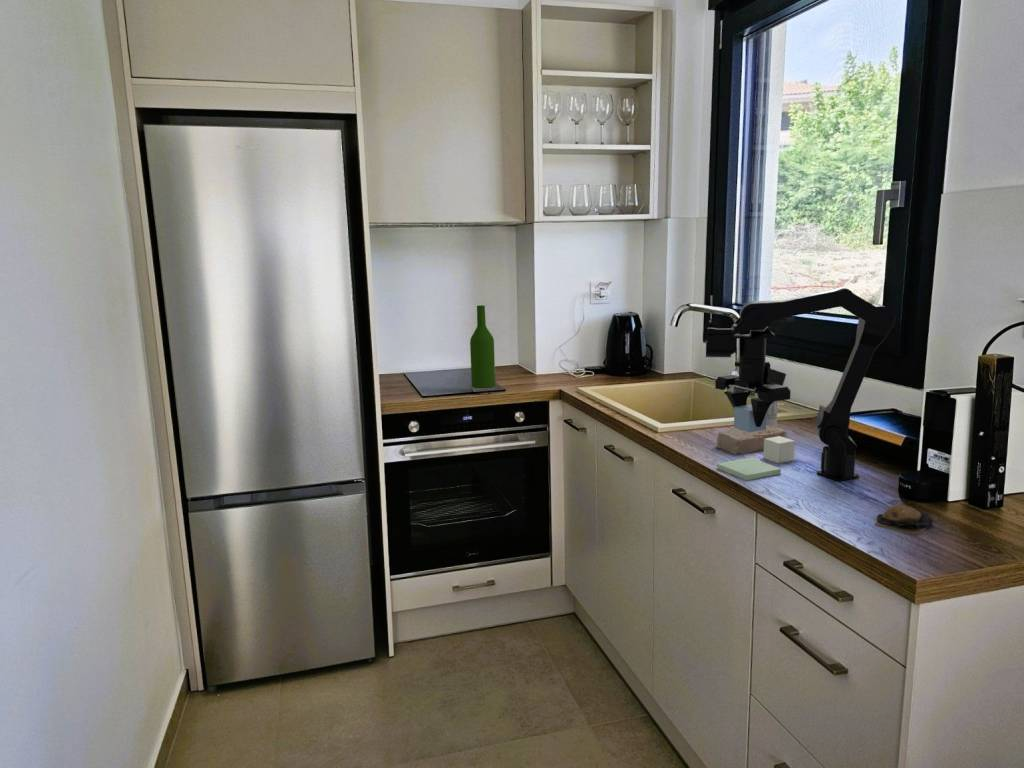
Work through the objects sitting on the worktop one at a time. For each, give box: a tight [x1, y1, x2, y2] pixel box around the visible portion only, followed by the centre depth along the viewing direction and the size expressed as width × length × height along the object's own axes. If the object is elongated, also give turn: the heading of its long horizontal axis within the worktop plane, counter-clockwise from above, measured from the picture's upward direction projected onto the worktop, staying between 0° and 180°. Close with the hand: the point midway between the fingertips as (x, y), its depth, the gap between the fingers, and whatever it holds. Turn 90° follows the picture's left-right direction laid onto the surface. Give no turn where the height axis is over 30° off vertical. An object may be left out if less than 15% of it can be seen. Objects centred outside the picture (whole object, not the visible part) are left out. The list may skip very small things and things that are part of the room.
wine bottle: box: [469, 304, 496, 388], centre depth 262 cm, size 9×9×32 cm
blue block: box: [733, 403, 767, 432], centre depth 162 cm, size 5×5×5 cm
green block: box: [716, 457, 782, 481], centre depth 165 cm, size 10×10×1 cm
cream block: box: [763, 436, 796, 464], centre depth 173 cm, size 5×5×5 cm
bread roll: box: [874, 504, 934, 536], centre depth 132 cm, size 11×8×4 cm
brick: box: [716, 425, 788, 455], centre depth 184 cm, size 16×8×5 cm, turn 112°
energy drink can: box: [754, 385, 779, 428], centre depth 199 cm, size 6×6×15 cm
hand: (750, 424), depth 163 cm, fingers closed on blue block, 5 cm apart
